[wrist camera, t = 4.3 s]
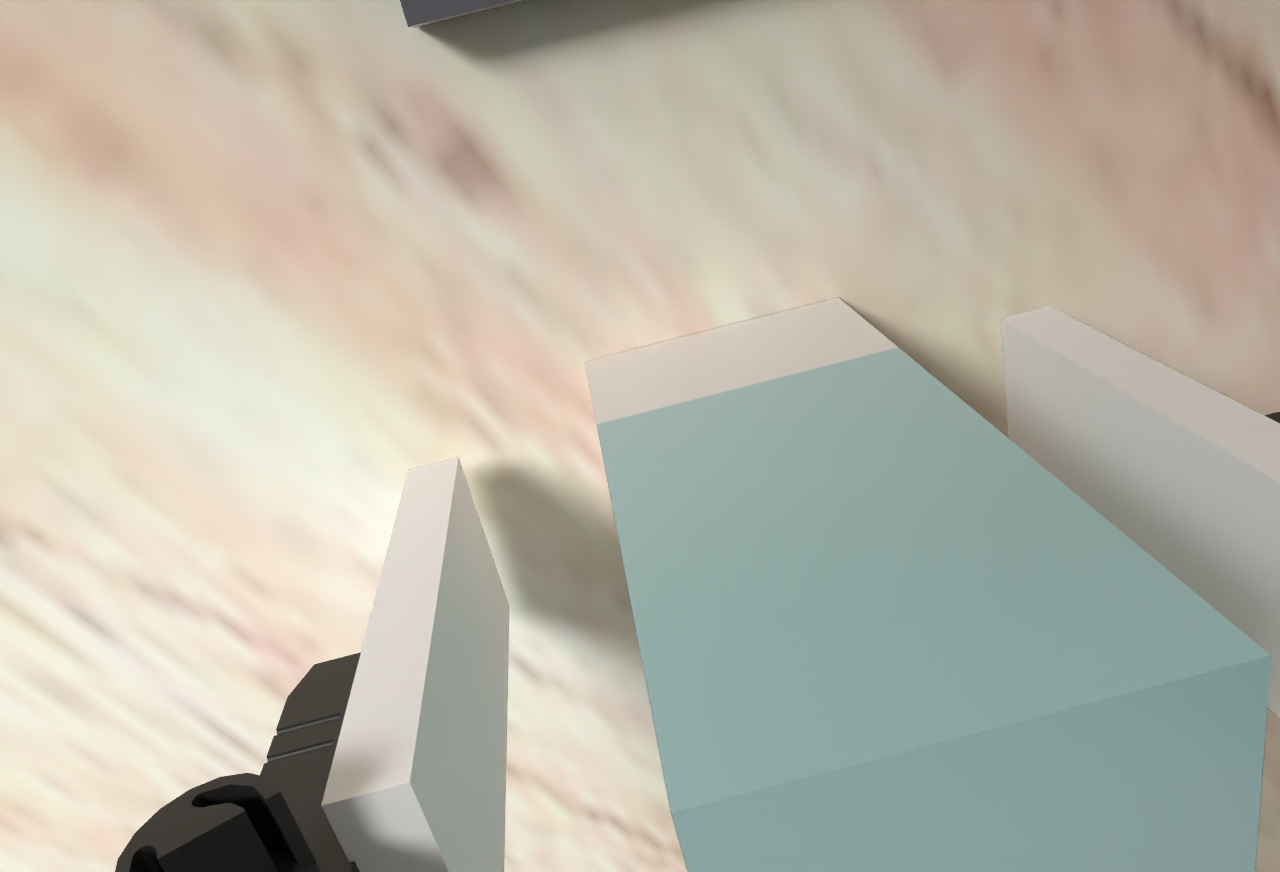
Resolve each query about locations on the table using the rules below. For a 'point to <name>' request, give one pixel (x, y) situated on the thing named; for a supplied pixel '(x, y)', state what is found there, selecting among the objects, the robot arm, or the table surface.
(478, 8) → the phone
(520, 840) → the table surface
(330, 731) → the robot arm
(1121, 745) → the teal rectangular block
